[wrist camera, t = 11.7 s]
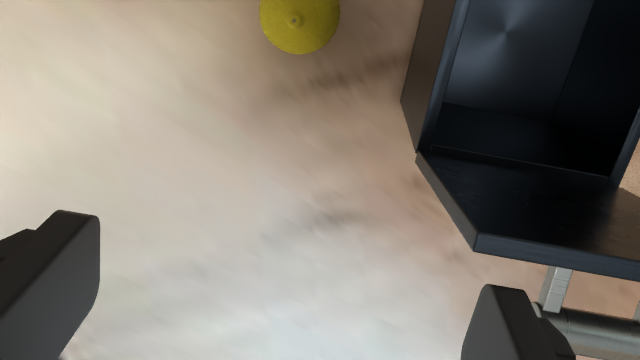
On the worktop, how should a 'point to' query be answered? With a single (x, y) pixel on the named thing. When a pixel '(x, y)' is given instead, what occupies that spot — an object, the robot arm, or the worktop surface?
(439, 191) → the bin lid
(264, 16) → the lemon
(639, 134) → the bin
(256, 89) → the worktop surface
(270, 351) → the worktop surface
